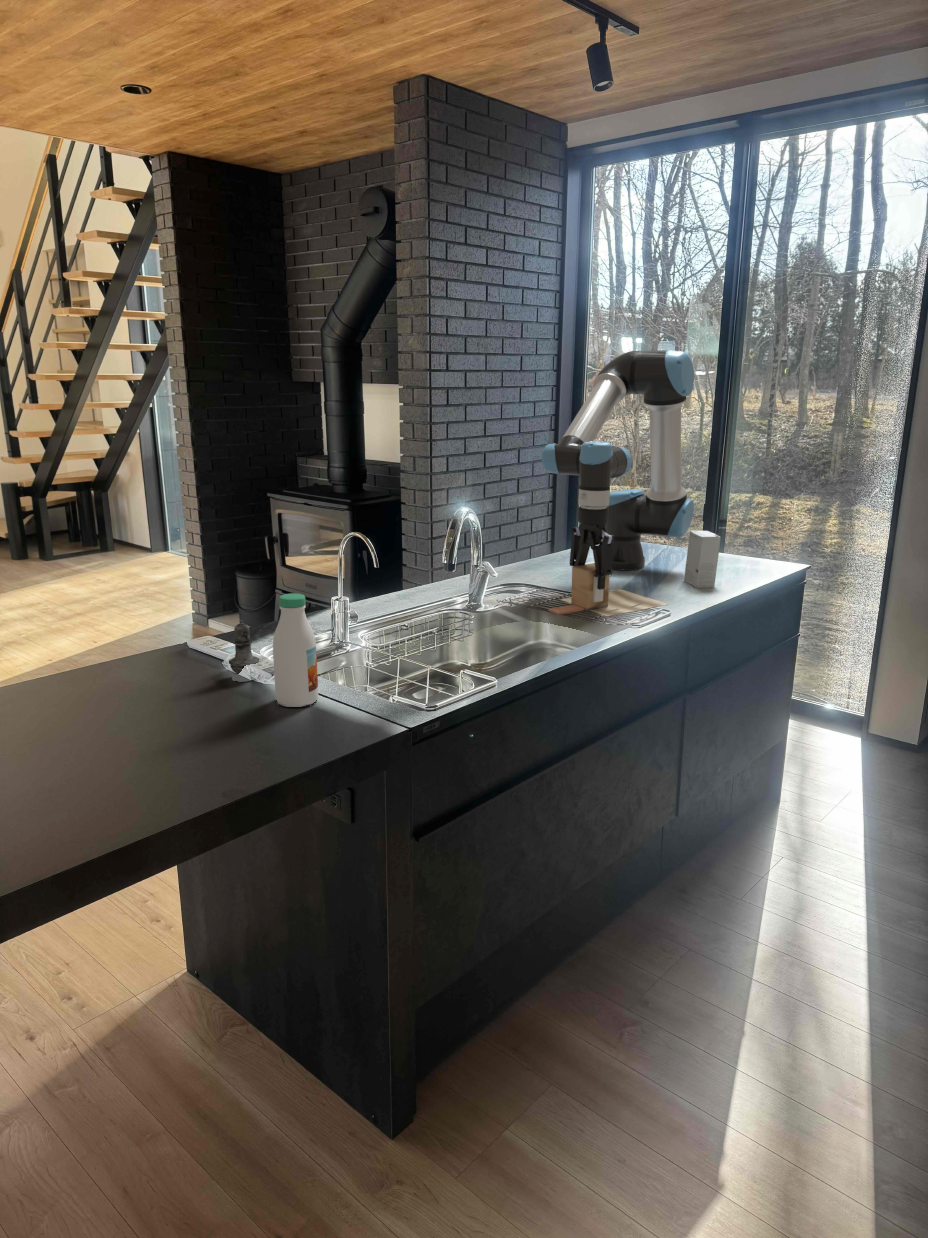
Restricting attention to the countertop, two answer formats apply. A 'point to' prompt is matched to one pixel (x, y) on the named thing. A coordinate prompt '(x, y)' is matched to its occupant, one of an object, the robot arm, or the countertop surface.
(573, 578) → the cardboard box
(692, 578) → the skincare box
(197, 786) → the countertop surface
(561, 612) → the salmon orange square block
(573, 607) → the terracotta square block
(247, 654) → the dark grey chess piece
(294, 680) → the milk bottle
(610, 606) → the birch board
